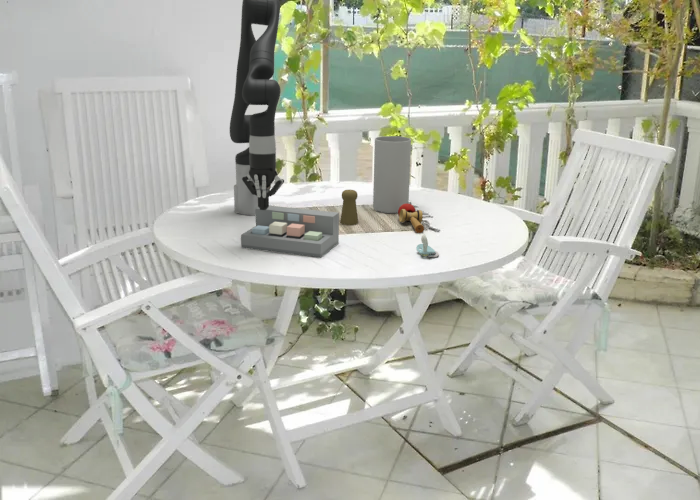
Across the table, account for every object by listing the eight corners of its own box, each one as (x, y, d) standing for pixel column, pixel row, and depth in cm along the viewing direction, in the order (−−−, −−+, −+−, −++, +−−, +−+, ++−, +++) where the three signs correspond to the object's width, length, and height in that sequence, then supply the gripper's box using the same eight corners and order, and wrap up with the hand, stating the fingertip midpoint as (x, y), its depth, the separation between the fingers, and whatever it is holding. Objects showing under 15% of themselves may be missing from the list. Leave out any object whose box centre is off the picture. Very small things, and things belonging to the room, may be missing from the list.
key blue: (252, 241, 223) (252, 228, 222) (258, 237, 227) (258, 225, 226) (264, 242, 222) (264, 230, 221) (270, 238, 226) (270, 226, 224)
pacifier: (433, 251, 222) (414, 251, 221) (435, 230, 220) (416, 231, 219) (441, 259, 216) (421, 259, 214) (443, 238, 214) (423, 238, 212)
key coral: (286, 239, 219) (286, 226, 218) (292, 235, 223) (292, 223, 222) (299, 241, 218) (299, 228, 217) (304, 237, 222) (304, 224, 221)
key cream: (269, 237, 221) (269, 225, 220) (275, 233, 225) (274, 221, 224) (282, 238, 220) (281, 226, 219) (287, 235, 223) (287, 222, 222)
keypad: (241, 247, 222) (240, 216, 219) (263, 234, 235) (262, 204, 232) (320, 257, 214) (320, 225, 211) (338, 243, 228) (338, 212, 225)
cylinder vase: (367, 206, 270) (368, 137, 263) (398, 203, 275) (400, 135, 268) (382, 215, 259) (384, 142, 252) (414, 212, 264) (417, 140, 257)
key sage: (304, 247, 218) (304, 234, 217) (309, 243, 222) (309, 231, 221) (317, 248, 217) (317, 236, 216) (322, 244, 221) (322, 232, 219)
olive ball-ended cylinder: (356, 225, 246) (356, 192, 243) (338, 224, 248) (338, 191, 244) (359, 220, 252) (360, 188, 249) (342, 219, 253) (342, 187, 250)
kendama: (433, 236, 241) (416, 214, 257) (431, 218, 238) (414, 197, 254) (409, 241, 240) (394, 219, 256) (407, 223, 237) (392, 202, 253)
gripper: (235, 151, 214) (237, 210, 220) (278, 154, 210) (278, 214, 216) (247, 146, 221) (249, 204, 226) (289, 150, 217) (289, 208, 222)
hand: (263, 209), depth 221 cm, fingers closed
